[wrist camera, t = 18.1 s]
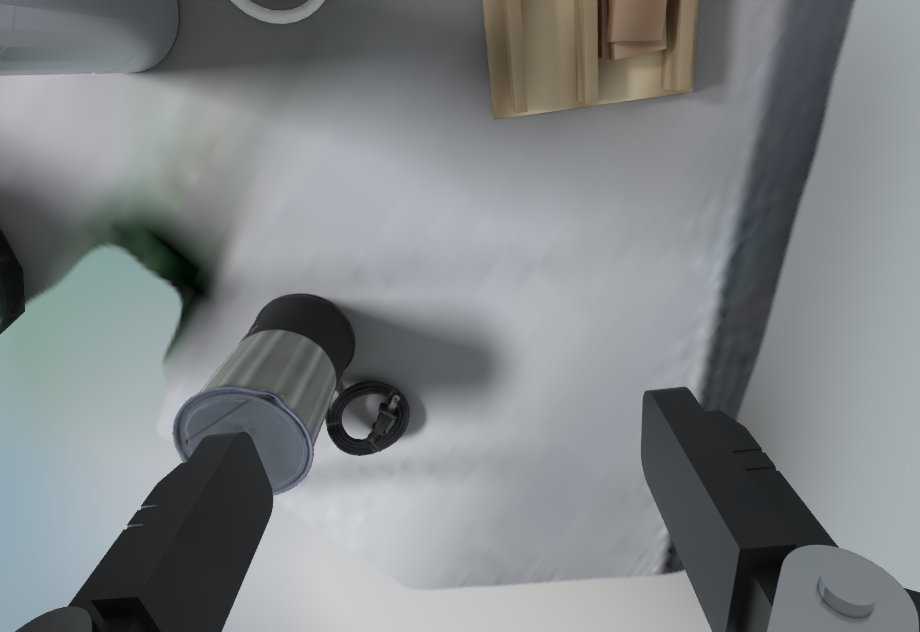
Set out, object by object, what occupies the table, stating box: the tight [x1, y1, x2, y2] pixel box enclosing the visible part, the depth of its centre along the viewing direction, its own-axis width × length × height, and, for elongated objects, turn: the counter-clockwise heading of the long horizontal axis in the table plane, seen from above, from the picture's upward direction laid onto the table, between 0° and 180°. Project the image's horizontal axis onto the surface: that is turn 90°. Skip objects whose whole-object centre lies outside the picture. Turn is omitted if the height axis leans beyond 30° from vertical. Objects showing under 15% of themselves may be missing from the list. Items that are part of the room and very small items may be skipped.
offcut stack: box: [597, 0, 667, 60], centre depth 31 cm, size 4×6×4 cm, turn 7°
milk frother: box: [172, 294, 410, 495], centre depth 41 cm, size 14×16×15 cm
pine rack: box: [482, 0, 699, 120], centre depth 32 cm, size 14×12×4 cm
